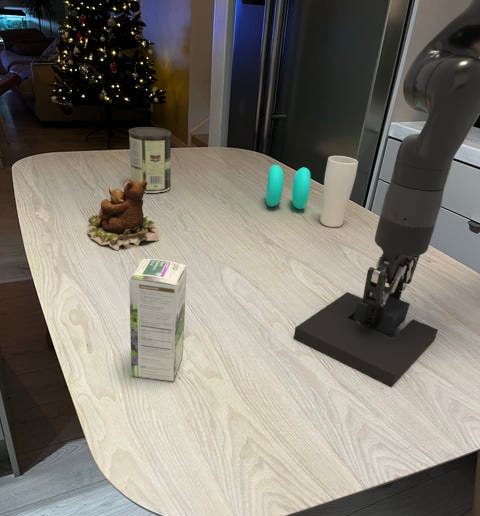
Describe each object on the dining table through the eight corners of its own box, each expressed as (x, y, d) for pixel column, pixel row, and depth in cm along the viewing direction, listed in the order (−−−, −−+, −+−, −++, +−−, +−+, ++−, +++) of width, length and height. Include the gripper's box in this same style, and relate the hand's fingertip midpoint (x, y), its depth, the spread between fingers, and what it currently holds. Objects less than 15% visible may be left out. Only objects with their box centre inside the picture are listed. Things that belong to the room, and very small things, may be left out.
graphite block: (370, 306, 82) (375, 289, 80) (404, 321, 79) (410, 303, 77) (353, 320, 78) (357, 302, 76) (388, 335, 75) (394, 317, 73)
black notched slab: (345, 301, 86) (347, 291, 85) (434, 340, 78) (438, 329, 76) (293, 338, 75) (295, 327, 74) (391, 387, 67) (395, 375, 66)
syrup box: (142, 351, 69) (140, 256, 61) (184, 357, 69) (187, 262, 61) (130, 377, 64) (126, 277, 56) (175, 383, 64) (177, 283, 56)
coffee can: (153, 179, 135) (152, 125, 128) (179, 189, 130) (179, 133, 122) (122, 185, 128) (119, 128, 121) (148, 196, 123) (147, 137, 115)
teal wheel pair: (306, 215, 121) (312, 174, 116) (265, 211, 121) (270, 170, 115) (303, 201, 129) (309, 163, 124) (265, 198, 129) (269, 159, 124)
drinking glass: (339, 231, 113) (352, 165, 105) (312, 224, 116) (323, 159, 108) (349, 223, 119) (362, 159, 111) (323, 216, 121) (334, 153, 113)
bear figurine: (136, 217, 111) (134, 161, 104) (169, 241, 101) (169, 182, 95) (76, 226, 104) (70, 167, 97) (105, 253, 94) (101, 190, 87)
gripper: (414, 236, 62) (382, 345, 71) (452, 211, 72) (420, 310, 81) (360, 219, 66) (336, 325, 75) (404, 197, 76) (378, 293, 85)
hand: (380, 317), depth 78 cm, fingers closed on graphite block, 6 cm apart
